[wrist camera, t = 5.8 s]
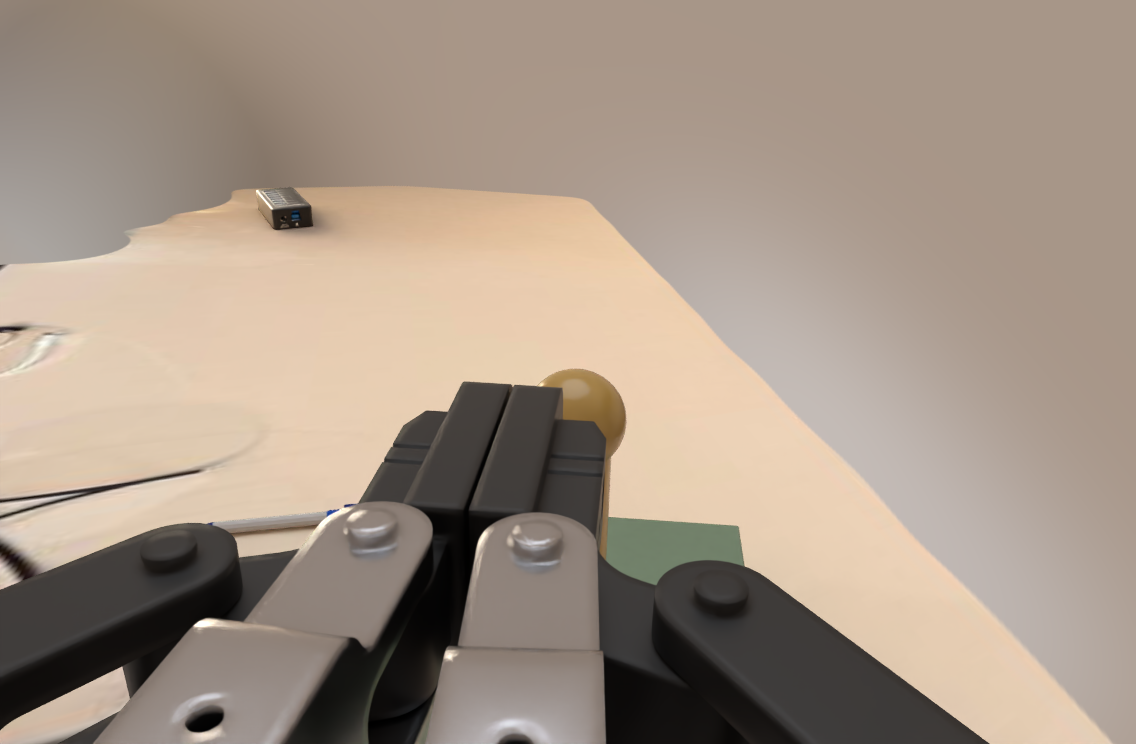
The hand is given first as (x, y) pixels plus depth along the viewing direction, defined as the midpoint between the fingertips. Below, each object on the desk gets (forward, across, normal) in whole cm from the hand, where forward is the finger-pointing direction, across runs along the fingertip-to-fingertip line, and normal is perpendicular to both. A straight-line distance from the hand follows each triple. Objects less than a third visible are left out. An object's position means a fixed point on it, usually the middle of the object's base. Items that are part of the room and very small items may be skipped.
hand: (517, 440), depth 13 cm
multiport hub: (+87, -41, -20) cm, 98 cm away
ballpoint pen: (+25, -15, -20) cm, 35 cm away
